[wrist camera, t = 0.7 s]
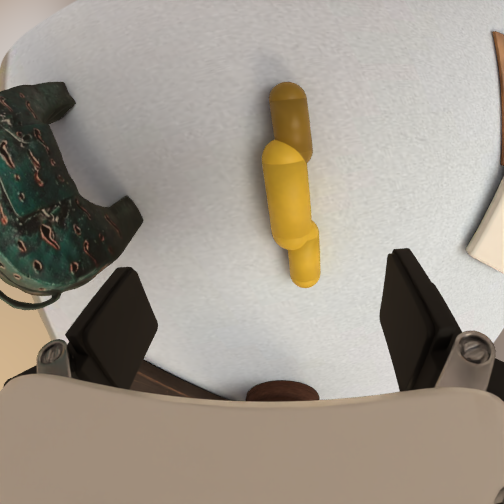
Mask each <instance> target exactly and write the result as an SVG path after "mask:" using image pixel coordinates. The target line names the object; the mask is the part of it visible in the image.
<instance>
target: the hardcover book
mask: <svg viewBox="0 0 504 504" xmlns="http://www.w3.org/2000/svg"><path fill="white" fill-rule="evenodd" d="M129 390H133V391H139V392H145V393H152V394H160V395H167V396H176V397H185V398H196V399H208V400H224V401H230V400H227V399H225V398H222V397H220V396H217V395H215V394H213V393H210V392H208V391H206V390H203V389H201V388H199V387H197V386H194V385H192V384H190V383H188V382H186V381H184V380H181V379H179V378H177V377H175V376H173V375H171V374H169V373H167V372H165V371H163V370H161V369H159V368H157V367H155V366H153V365H151V364H150V363H148V362H146V361H144V360H143V361H142V363H141V365H140V367H139V370H138V372H137V374H136V376H135V378H134V381H133V383H132V385H131V387H130V389H129Z"/></svg>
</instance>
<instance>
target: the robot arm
mask: <svg viewBox="0 0 504 504" xmlns="http://www.w3.org/2000/svg"><path fill="white" fill-rule="evenodd" d="M380 323H381V326H382V329H383V332H384V335H385V339H386V342H387V345H388V349H389V352H390V356H391V359H392V363H393V366H394V370H395V374H396V378H397V382H398V385H399V389H400V392H395V393H388V394H380V395H372V396H363V397H353V398H342V399H330V400H314V401H288V402H251V401H224V400H208V399H196V398H185V397H176V396H167V395H160V394H152V393H145V392H139V391H133V390H129V389H130V387H131V385H132V383H133V381H134V378H135V376H136V374H137V372H138V370H139V367H140V365H141V363H142V361H143V359H144V357H145V355H146V352H147V350H148V348H149V346H150V344H151V342H152V340H153V338H154V336H155V334H156V332H157V329H158V323H157V320H156V318H155V315H154V313H153V311H152V308H151V306H150V303H149V301H148V299H147V296H146V294H145V291H144V289H143V286H142V284H141V281H140V278H139V276H138V273H137V272H136V271H135V270H133V268H132V267H119V268H117V269H116V270H115V271H114V272H113V273H112V275H111V276H110V277H109V278H108V280H107V281H106V282H105V283H104V284H103V286H102V287H101V288H100V289H99V291H98V292H97V293H96V294H95V296H94V297H93V298H92V300H91V301H90V302H89V303H88V305H87V306H86V307H85V309H84V310H83V311H82V313H81V314H80V315H79V316H78V318H77V319H76V321H75V322H74V323H73V325H72V326H71V327H70V329H69V330H68V331H67V333H66V334H65V335H66V337H67V338H68V340H69V343H68V345H67V344H66V342H65V341H64V340H60V339H58V340H53V341H50V342H49V343H47V344H46V345H45V346H44V347H42V349H41V350H40V351H39V353H38V355H37V365H36V366H34V367H32V368H30V369H28V370H26V371H24V372H22V373H21V374H18V375H17V376H15V377H13V378H10V379H8V380H7V381H6V382H5V384H4V387H3V389H2V390H1V391H0V504H504V362H502V361H500V360H498V359H496V358H495V352H496V350H495V347H494V344H493V343H492V341H491V340H490V339H489V338H488V337H487V336H486V335H484V334H482V333H480V332H477V331H465V332H462V331H461V329H460V327H459V326H458V324H457V322H456V320H455V318H454V317H453V315H452V313H451V311H450V309H449V308H448V306H447V304H446V303H445V301H444V299H443V297H442V296H441V294H440V292H439V291H438V289H437V288H436V286H435V285H434V284H433V283H431V281H430V279H429V278H428V276H427V275H426V273H425V271H424V270H423V268H422V267H421V265H420V264H419V262H418V261H417V259H416V258H415V256H414V255H413V253H412V252H411V250H410V249H409V248H404V249H394V250H393V252H392V254H388V257H387V265H386V274H385V281H384V289H383V296H382V302H381V308H380Z"/></svg>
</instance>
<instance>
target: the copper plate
mask: <svg viewBox="0 0 504 504" xmlns="http://www.w3.org/2000/svg"><path fill="white" fill-rule="evenodd" d="M493 37H494V42H495V48H496V54H497V61H498V68H499V76H500V87H501V101H502V154H501V165H503V166H504V35H503V34H501V33H498V32H496V31H493Z"/></svg>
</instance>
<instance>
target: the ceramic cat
mask: <svg viewBox="0 0 504 504" xmlns="http://www.w3.org/2000/svg"><path fill="white" fill-rule="evenodd" d="M74 104H76V103H75V101H74V100H73V98H72V97H71V96H70V95H69V93H68V91H67V88H66V86H65V83H64V82H48V83H41V84H36V85H21V86H17V87H13V88H11V89H8V90H4V91H1V92H0V278H1V279H2V280H3V281H4V282H5V283H7V284H9V285H11V286H13V287H16V288H18V289H20V290H22V291H24V292H25V293H28V294H31V295H37V296H50V295H52V298H51V299H49V300H47V301H45V302H42V303H35V304H32V303H24V302H19V301H16V300H13V299H11V298H9V297H7V296H6V295H5V294H4V293H3V292H2V291H0V299H1V300H3V301H4V302H6V303H7V304H9V305H10V306H12V307H13V308H17V309H22V310H34V309H35V310H36V309H39V308H43V307H45V306H48V305H50V304H52V303H54V302H55V301H57V300H58V299H59V298H60V296H61V293H62V292H65V291H68V290H72V289H76V288H78V287H80V286H83V285H84V284H86V283H88V282H89V281H90V280H92V279H93V278H94V277H95V276H96V275H97V274H98V273H100V272H101V271H102V270H103V269H105V268H106V267H107V266H109V265H110V264H111V263H113V262H114V261H115V260H116V259H118V257H119V256H120V255H121V254H122V252H123V251H124V250H125V248H126V246H127V245H128V243H129V242H130V241H131V239H132V237H133V236H134V235H135V233H136V231H137V230H138V229H139V227H140V226H141V224H142V223H143V218H142V216H141V214H140V212H139V210H138V208H137V207H136V205H135V204H134V203H133V201H132V200H131V199H130V198H129V197H128V196H125V197H124V198H123V199H121V200H120V201H118V202H117V203H115V204H113V205H112V206H110V207H102V206H98V205H95V204H93V203H91V202H89V201H88V200H86V199H85V198H83V197H82V196H81V195H80V194H79V192H78V190H77V187H76V185H75V183H74V181H73V180H72V178H71V177H70V175H69V173H68V170H67V168H66V166H65V164H64V161H63V158H62V155H61V152H60V150H59V147H58V145H57V143H56V140H55V138H54V135H53V133H52V130H51V128H50V126H49V124H51V123H53V122H55V121H58V120H60V119H61V118H62V117H63V116H64V115H65V114H66V113H67V112H68V111H69V109H70V108H71V107H72V106H73V105H74Z"/></svg>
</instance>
